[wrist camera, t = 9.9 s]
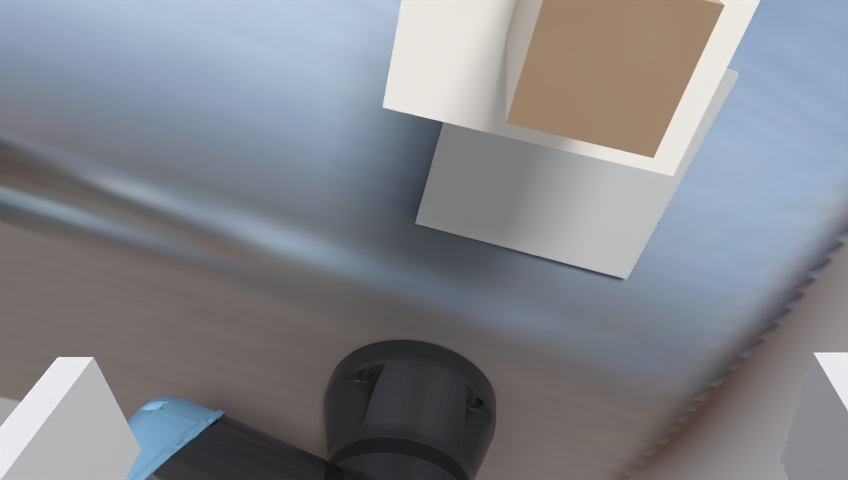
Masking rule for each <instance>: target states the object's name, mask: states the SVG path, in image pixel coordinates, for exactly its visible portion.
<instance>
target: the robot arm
mask: <svg viewBox="0 0 848 480" xmlns="http://www.w3.org/2000/svg"><path fill="white" fill-rule="evenodd" d="M225 415H226V413H225V412H224V411H222V410H218V411H213V410H210V409H208V408H205V407H203V406H200V405H197V404H195V403H192V402H190V401H187V400H184V399H182V398H179V397H175V396H161V397H158V398H155V399H153V400H151V401H149V402H147V403H146V404H145V405H143V406H142V407H141V408H140V409H139V410H138V411H137V412H136V413H135V414H134V415H133V416H132V417H131V418H130V419H129V420H128V421H126V419H125V418H124V416H123V414H122V412H121V410H120V408H119V406H118V404H117V402H116V400H115V398H114V396H113V394H112V392H111V390H110V388H109V386H108V384H107V382H106V380H105V379H104V377H103V375H102V373H101V371H100V369H99V367H98V365H97V363H96V361H95V359H94V357H58V358H57V359H56V360H55V361H54V363H53V364H52V365H51V366H50V367H49V369H48V370H47V371H46V372H45V374H44V375H43V376H42V377H41V378H40V380H39V381H38V382H37V383H36V384H35V386H34V387H33V388H32V389H31V391H30V392H29V393H28V394H27V395H26V397H25V398H24V399H23V400H22V401H21V403H20V404H19V405H18V406H17V408H16V409H15V410H14V411H13V412H12V414H11V415H10V416H9V417H8V418H7V420H6V421H5V422H4V423H3V425H2V426H1V427H0V480H475V478H476V475H477V473H478V471H479V469H480V466H481V464H482V462H483V460H484V457H485V455H486V453H487V451H488V448H489V446H490V444H491V441H492V439H493V436H494V432H495V426H496V399H495V394H494V391H493V389H492V386H491V384H490V383H489V381H488V379H487V378H486V377H485V375H484V374H483V373H482V372H481V371H480V370H479V369H478V368H477V367H476V366H475V365H474V364H472V363H471V362H470V361H468V360H467V359H465V358H464V357H462V356H461V355H459V354H457V353H455V352H453V351H451V350H448V349H446V348H443V347H441V346H438V345H434V344H430V343H426V342H420V341H412V340H390V341H383V342H378V343H374V344H370V345H367V346H364V347H362V348H360V349H358V350H356V351H354V352H352V353H351V354H349V355H348V356H347V357H345V358H344V359H343V360H342V361H341V362H340V363H339V364H338V366H337V367H336V368H335V370H334V372H333V374H332V376H331V379H330V382H329V386H328V389H327V392H326V396H325V401H324V418H325V429H326V441H327V453H328V461H326V460H324V459H322V458H319V457H317V456H315V455H312V454H310V453H308V452H306V451H304V450H301V449H299V448H297V447H295V446H292V445H290V444H288V443H286V442H283V441H281V440H279V439H277V438H274V437H272V436H270V435H268V434H265V433H263V432H261V431H259V430H256V429H254V428H252V427H250V426H247V425H245V424H243V423H241V422H239V421H236V420H234V419H232V418H230V417H227V416H225ZM781 462H782V464H783V466H784V469H785V471H786V473H787V475H788V478H789V480H848V353H813V356H812V360H811V363H810V366H809V369H808V373H807V376H806V379H805V383H804V386H803V389H802V392H801V396H800V399H799V402H798V406H797V409H796V412H795V415H794V419H793V422H792V425H791V428H790V432H789V435H788V439H787V441H786V445H785V448H784V451H783V455H782V458H781Z"/></svg>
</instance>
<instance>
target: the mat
mask: <svg viewBox="0 0 848 480" xmlns="http://www.w3.org/2000/svg"><path fill="white" fill-rule="evenodd" d="M738 76H739V73H738V72H737V71H735V70H731V69H728V68H726V70H725V73H724V75H723V77H722V79H721V81H720V83H719V85H718V87H717V89H716V91H715V93H714V95H713V97H712V99H711V101H710V103H709V105H708V107H707V109H706V111H705V113H704V115H703V117H702V119H701V121H700V123H699V125H698V127H697V129H696V131H695V133H694V135H693V137H692V139H691V141H690V143H689V145H688V147H687V149H686V151H685V153H684V155H683V157H682V159H681V161H680V163H679V165H678V167H677V170H676V172H675V174H674V176H669V175H665V174H661V173H657V172H652V171H648V170H644V169H640V168H635V167H631V166H627V165H623V164H619V163H614V162H610V161H606V160H602V159H598V158H593V157H589V156H585V155H581V154H576V153H572V152H568V151H564V150H560V149H555V148H551V147H547V146H543V145H539V144H534V143H530V142H526V141H522V140H517V139H513V138H509V137H505V136H501V135H496V134H492V133H488V132H484V131H479V130H475V129H471V128H467V127H463V126H458V125H454V124H450V123H446V122H443V124H442V128H441V131H440V135H439V139H438V142H437V146H436V149H435V153H434V157H433V160H432V164H431V167H430V171H429V175H428V178H427V182H426V185H425V189H424V193H423V196H422V200H421V203H420V207H419V211H418V214H417V218H416V222H415V224H418V225H422V226H426V227H430V228H434V229H437V230H441V231H445V232H449V233H453V234H456V235H460V236H464V237H468V238H472V239H475V240H479V241H483V242H487V243H491V244H495V245H498V246H502V247H506V248H510V249H514V250H517V251H521V252H525V253H529V254H533V255H536V256H540V257H544V258H548V259H552V260H555V261H559V262H563V263H567V264H571V265H575V266H578V267H582V268H586V269H590V270H594V271H597V272H601V273H605V274H609V275H613V276H616V277H620V278H624V279H627V278H628V276H629V275H630V273H631V271H632V269H633V267H634V265H635V264H636V262H637V260H638V258H639V256H640V255H641V253H642V251H643V249H644V247H645V245H646V244H647V242H648V240H649V238H650V236H651V234H652V233H653V231H654V229H655V227H656V225H657V224H658V222H659V220H660V218H661V216H662V214H663V213H664V211H665V209H666V207H667V205H668V203H669V202H670V200H671V198H672V196H673V194H674V193H675V191H676V189H677V187H678V185H679V183H680V182H681V180H682V178H683V176H684V174H685V173H686V171H687V169H688V167H689V165H690V163H691V162H692V160H693V158H694V156H695V154H696V152H697V151H698V149H699V147H700V145H701V143H702V142H703V140H704V138H705V136H706V134H707V132H708V131H709V129H710V127H711V125H712V123H713V121H714V120H715V118H716V116H717V114H718V112H719V111H720V109H721V107H722V105H723V103H724V101H725V100H726V98H727V96H728V94H729V92H730V90H731V89H732V87H733V85H734V83H735V81H736V80H737V78H738Z"/></svg>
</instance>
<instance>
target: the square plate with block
mask: <svg viewBox="0 0 848 480" xmlns="http://www.w3.org/2000/svg"><path fill="white" fill-rule="evenodd" d="M759 2H760V0H401V6H400V12H399V17H398V23H397V29H396V34H395V40H394V46H393V51H392V57H391V63H390V68H389V74H388V80H387V85H386V91H385V97H384V102H383V108H387V109H391V110H395V111H399V112H404V113H408V114H412V115H416V116H420V117H425V118H429V119H433V120H437V121H442V122H446V123H450V124H454V125H458V126H463V127H467V128H471V129H475V130H479V131H484V132H488V133H492V134H496V135H501V136H505V137H509V138H513V139H517V140H522V141H526V142H530V143H534V144H539V145H543V146H547V147H551V148H555V149H560V150H564V151H568V152H572V153H576V154H581V155H585V156H589V157H593V158H598V159H602V160H606V161H610V162H614V163H619V164H623V165H627V166H631V167H635V168H640V169H644V170H648V171H652V172H657V173H661V174H665V175H669V176H674V174H675V172H676V170H677V167H678V165H679V163H680V161H681V159H682V157H683V155H684V153H685V151H686V149H687V147H688V145H689V143H690V141H691V139H692V137H693V135H694V133H695V131H696V129H697V127H698V125H699V123H700V121H701V119H702V117H703V115H704V113H705V111H706V109H707V107H708V105H709V103H710V101H711V99H712V97H713V95H714V93H715V91H716V89H717V87H718V85H719V83H720V81H721V79H722V77H723V75H724V73H725V70H726V68H727V66H728V64H729V62H730V60H731V58H732V56H733V54H734V52H735V50H736V48H737V46H738V44H739V42H740V40H741V38H742V36H743V34H744V32H745V30H746V28H747V26H748V24H749V22H750V20H751V18H752V16H753V14H754V12H755V10H756V8H757V6H758V4H759Z"/></svg>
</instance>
